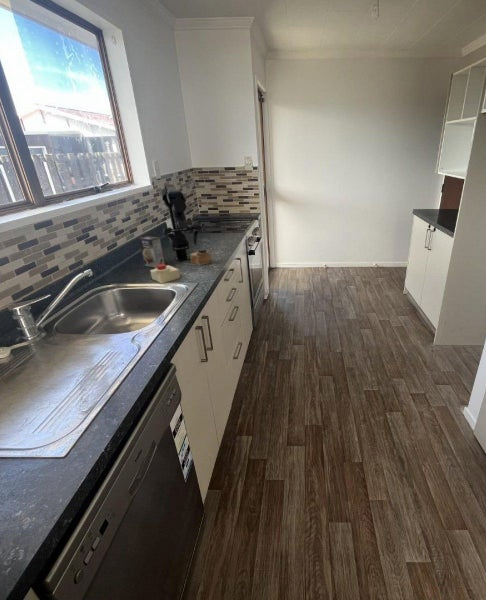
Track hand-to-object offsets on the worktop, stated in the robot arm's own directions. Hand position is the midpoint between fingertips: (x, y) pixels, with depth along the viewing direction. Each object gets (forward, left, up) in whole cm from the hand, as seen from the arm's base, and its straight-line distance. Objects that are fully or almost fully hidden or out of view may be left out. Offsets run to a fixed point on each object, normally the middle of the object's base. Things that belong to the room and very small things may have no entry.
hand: (186, 246), depth 169 cm
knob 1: (0, -15, -8) cm, 17 cm away
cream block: (-2, -13, -14) cm, 19 cm away
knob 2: (-7, +13, -8) cm, 17 cm away
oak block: (-10, +13, -14) cm, 22 cm away
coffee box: (-26, -7, -15) cm, 31 cm away
